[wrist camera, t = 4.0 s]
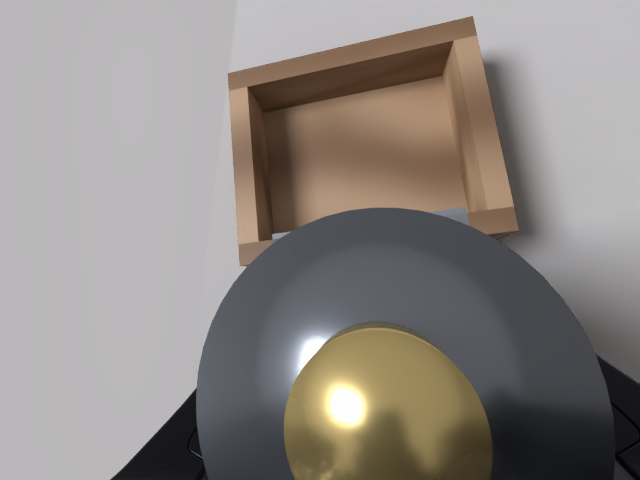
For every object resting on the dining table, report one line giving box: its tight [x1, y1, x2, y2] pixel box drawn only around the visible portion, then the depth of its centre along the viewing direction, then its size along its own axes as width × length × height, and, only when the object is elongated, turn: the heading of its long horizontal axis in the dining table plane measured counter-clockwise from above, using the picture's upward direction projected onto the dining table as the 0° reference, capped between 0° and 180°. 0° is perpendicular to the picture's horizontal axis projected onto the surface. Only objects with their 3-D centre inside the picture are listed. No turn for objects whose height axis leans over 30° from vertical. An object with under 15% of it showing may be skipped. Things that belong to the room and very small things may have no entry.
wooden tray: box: [228, 16, 519, 266], centre depth 15 cm, size 10×12×3 cm
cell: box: [196, 208, 616, 480], centre depth 9 cm, size 5×5×13 cm
